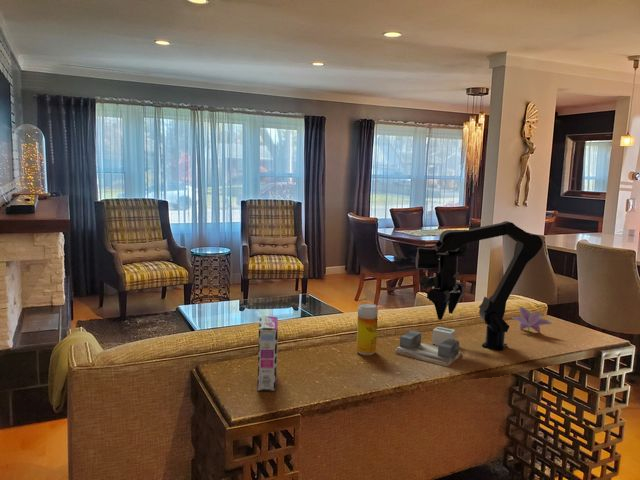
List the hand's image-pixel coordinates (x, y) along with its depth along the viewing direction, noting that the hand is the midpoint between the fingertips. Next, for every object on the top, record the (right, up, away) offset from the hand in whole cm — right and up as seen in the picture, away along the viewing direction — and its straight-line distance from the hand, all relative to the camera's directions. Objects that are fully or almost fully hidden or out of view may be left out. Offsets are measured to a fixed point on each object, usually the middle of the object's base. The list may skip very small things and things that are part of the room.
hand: (445, 316), depth 165 cm
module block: (0, -10, +1) cm, 10 cm away
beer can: (-27, -10, -8) cm, 30 cm away
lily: (+34, -9, +15) cm, 38 cm away
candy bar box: (-55, -13, -32) cm, 65 cm away
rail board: (-7, -11, -8) cm, 15 cm away
